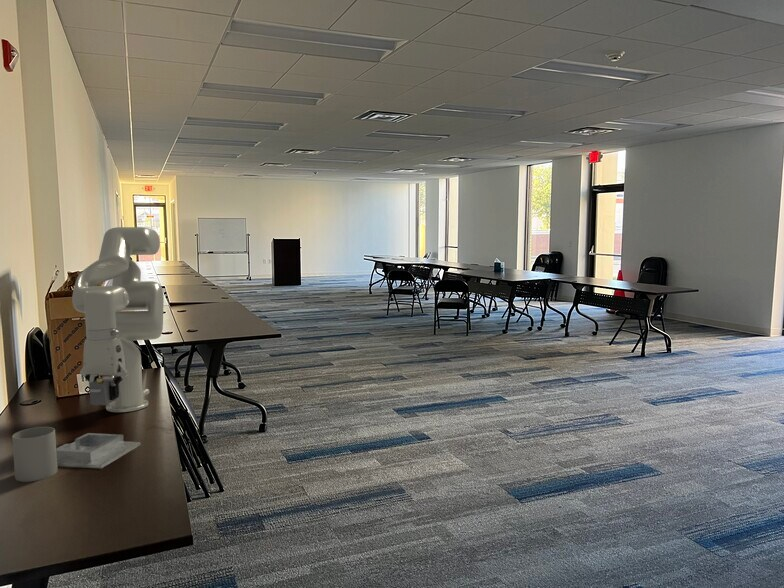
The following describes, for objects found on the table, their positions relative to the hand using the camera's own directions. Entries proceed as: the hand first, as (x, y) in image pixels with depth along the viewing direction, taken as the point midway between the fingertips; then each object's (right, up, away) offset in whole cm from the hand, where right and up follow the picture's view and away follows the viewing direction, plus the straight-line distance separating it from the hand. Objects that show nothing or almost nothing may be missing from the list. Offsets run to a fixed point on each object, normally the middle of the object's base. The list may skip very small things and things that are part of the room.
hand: (105, 397), depth 160 cm
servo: (0, -1, 0) cm, 1 cm away
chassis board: (+3, -12, -15) cm, 19 cm away
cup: (-3, -13, -27) cm, 30 cm away
